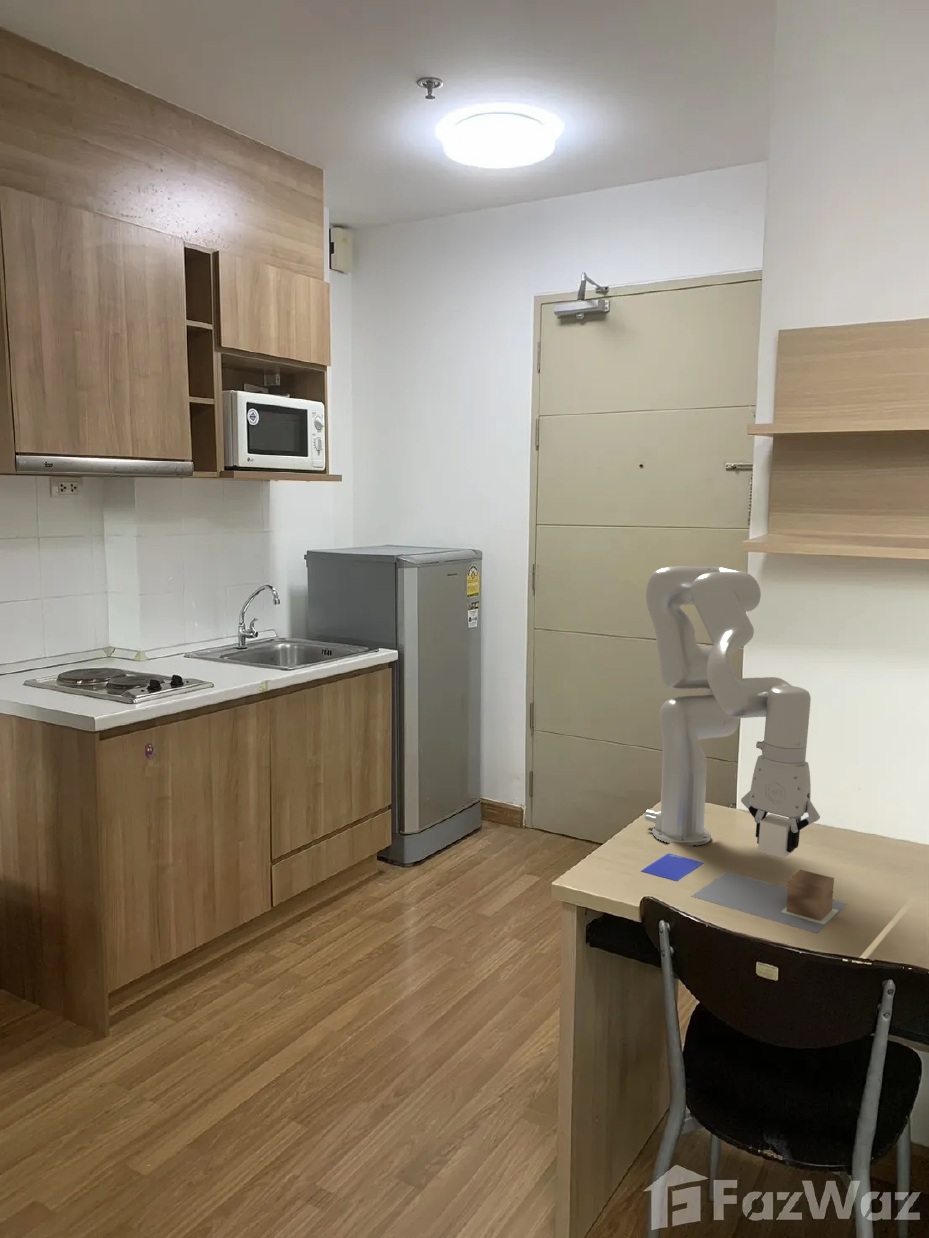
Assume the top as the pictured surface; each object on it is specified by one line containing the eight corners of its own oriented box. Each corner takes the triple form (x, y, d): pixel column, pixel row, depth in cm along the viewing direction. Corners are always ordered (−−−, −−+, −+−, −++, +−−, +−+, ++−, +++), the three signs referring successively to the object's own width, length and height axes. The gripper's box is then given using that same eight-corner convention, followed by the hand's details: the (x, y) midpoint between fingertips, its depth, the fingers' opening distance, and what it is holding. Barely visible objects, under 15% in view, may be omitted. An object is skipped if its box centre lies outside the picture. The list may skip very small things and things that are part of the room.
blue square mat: (667, 852, 192) (639, 870, 182) (704, 862, 187) (677, 880, 177) (666, 859, 192) (639, 877, 183) (704, 869, 187) (677, 888, 178)
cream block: (757, 851, 174) (760, 820, 173) (768, 843, 178) (770, 813, 177) (784, 858, 171) (786, 827, 170) (793, 850, 174) (796, 820, 174)
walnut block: (786, 911, 164) (788, 878, 164) (798, 900, 169) (800, 869, 168) (820, 921, 161) (822, 888, 160) (831, 910, 165) (834, 877, 165)
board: (691, 900, 171) (691, 895, 171) (726, 875, 183) (727, 870, 183) (816, 937, 156) (817, 932, 156) (846, 907, 168) (847, 903, 168)
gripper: (732, 747, 174) (725, 839, 176) (824, 767, 163) (815, 864, 166) (748, 739, 180) (741, 829, 182) (837, 758, 169) (828, 852, 172)
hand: (776, 845), depth 174 cm, fingers closed on cream block, 4 cm apart
